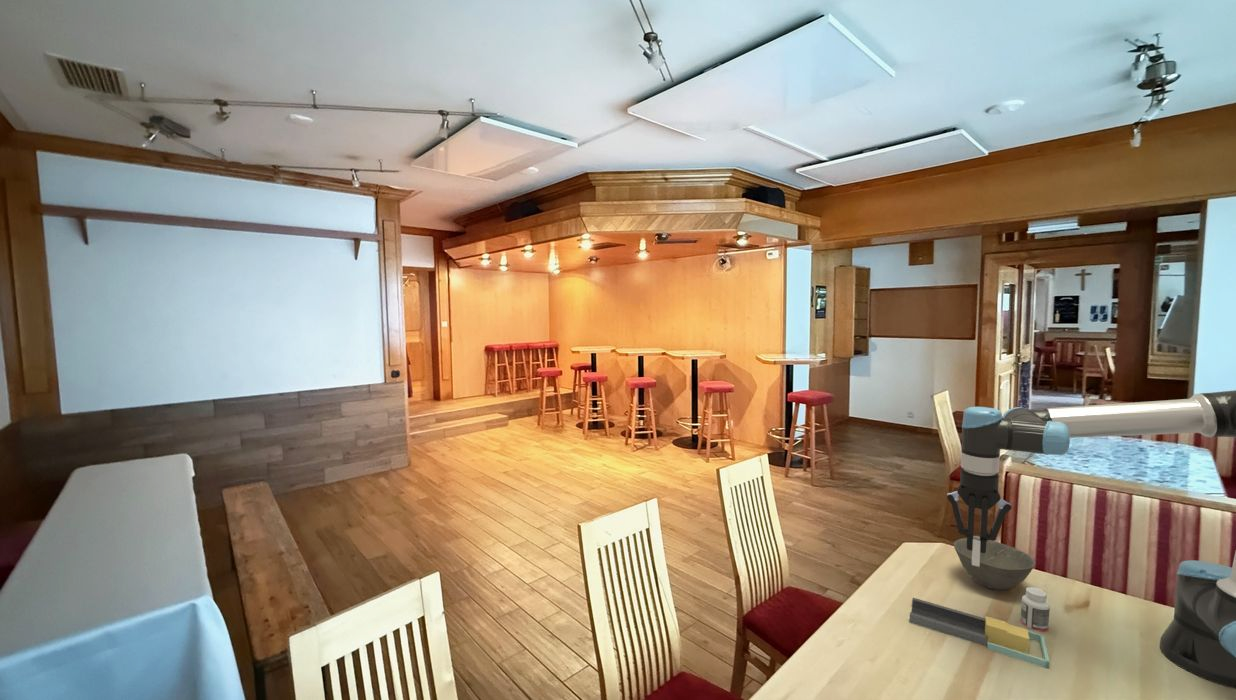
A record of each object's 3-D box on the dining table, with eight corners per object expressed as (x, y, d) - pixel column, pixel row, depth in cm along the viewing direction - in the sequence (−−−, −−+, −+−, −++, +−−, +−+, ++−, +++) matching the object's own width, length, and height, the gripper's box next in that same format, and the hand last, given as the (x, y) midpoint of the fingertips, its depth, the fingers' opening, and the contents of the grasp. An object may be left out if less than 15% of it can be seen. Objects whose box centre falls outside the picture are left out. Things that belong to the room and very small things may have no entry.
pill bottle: (1051, 629, 123) (1053, 593, 122) (1043, 637, 120) (1046, 600, 119) (1024, 618, 127) (1026, 583, 126) (1016, 626, 124) (1019, 589, 123)
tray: (1042, 644, 117) (1043, 635, 117) (1048, 673, 108) (1049, 662, 108) (985, 627, 124) (986, 618, 123) (987, 653, 115) (987, 643, 114)
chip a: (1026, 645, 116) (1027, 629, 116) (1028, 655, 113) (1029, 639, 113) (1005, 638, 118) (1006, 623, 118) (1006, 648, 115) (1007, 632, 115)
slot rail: (985, 629, 123) (986, 618, 122) (987, 650, 115) (987, 638, 115) (912, 607, 132) (912, 597, 132) (909, 625, 125) (909, 614, 124)
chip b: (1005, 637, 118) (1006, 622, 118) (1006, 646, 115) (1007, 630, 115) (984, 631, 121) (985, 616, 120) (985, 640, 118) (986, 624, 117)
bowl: (1050, 597, 136) (1052, 563, 135) (999, 608, 131) (1001, 573, 130) (984, 563, 154) (986, 533, 153) (937, 572, 149) (939, 541, 148)
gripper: (1012, 471, 117) (1007, 564, 119) (947, 462, 125) (944, 550, 127) (1015, 480, 111) (1010, 578, 113) (946, 470, 119) (943, 562, 121)
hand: (975, 563), depth 120 cm, fingers closed
